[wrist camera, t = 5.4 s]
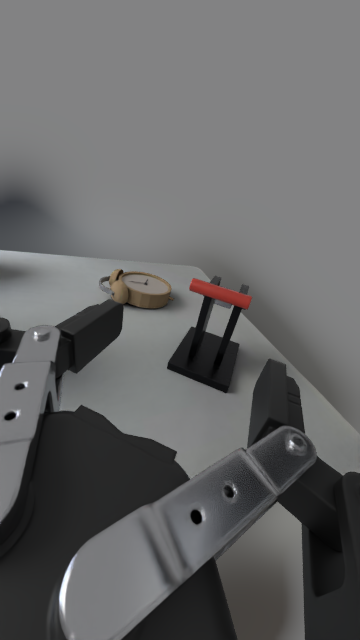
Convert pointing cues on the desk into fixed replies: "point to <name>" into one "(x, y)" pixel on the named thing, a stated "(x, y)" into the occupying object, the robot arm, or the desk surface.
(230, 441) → the desk surface
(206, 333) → the switch bracket
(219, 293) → the lever
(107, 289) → the alarm clock
